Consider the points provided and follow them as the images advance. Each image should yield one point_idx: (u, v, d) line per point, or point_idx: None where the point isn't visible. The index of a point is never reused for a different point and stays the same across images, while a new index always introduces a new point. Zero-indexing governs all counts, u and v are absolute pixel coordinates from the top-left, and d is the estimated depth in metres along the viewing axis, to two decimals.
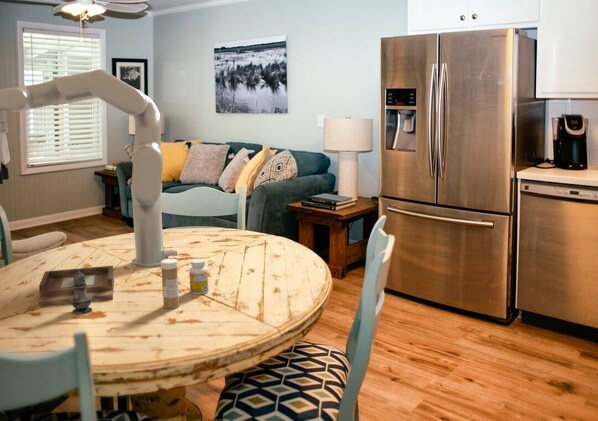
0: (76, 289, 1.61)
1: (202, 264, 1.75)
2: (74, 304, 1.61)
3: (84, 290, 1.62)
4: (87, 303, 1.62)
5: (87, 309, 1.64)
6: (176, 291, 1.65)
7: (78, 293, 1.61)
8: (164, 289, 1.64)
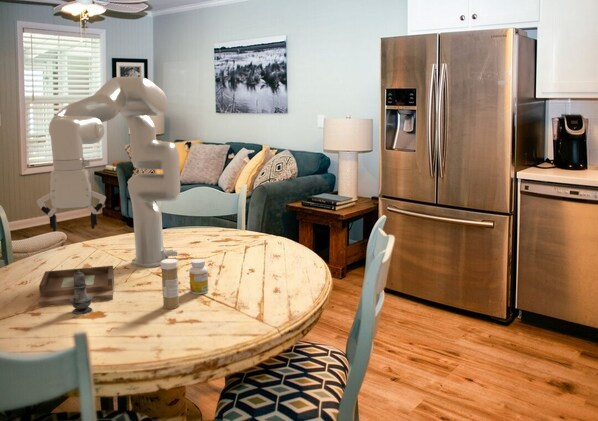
0: (76, 289, 1.61)
1: (202, 264, 1.75)
2: (74, 304, 1.61)
3: (84, 290, 1.62)
4: (87, 303, 1.62)
5: (87, 309, 1.64)
6: (176, 291, 1.65)
7: (78, 293, 1.61)
8: (164, 289, 1.64)
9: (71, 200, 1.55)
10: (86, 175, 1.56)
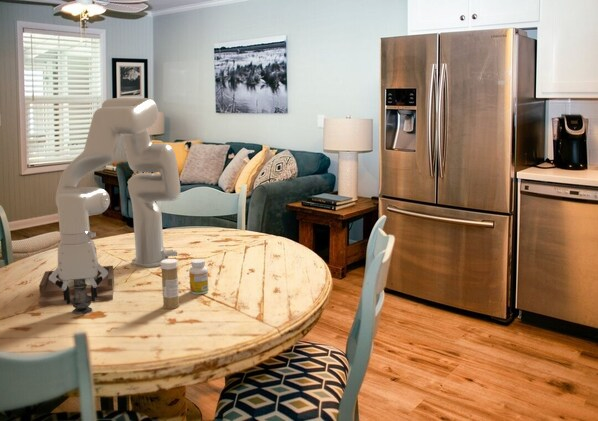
0: (76, 289, 1.61)
1: (202, 264, 1.75)
2: (74, 304, 1.61)
3: (84, 290, 1.62)
4: (87, 303, 1.62)
5: (87, 309, 1.64)
6: (176, 291, 1.65)
7: (78, 293, 1.61)
8: (164, 289, 1.64)
9: (78, 271, 1.59)
10: (92, 247, 1.60)
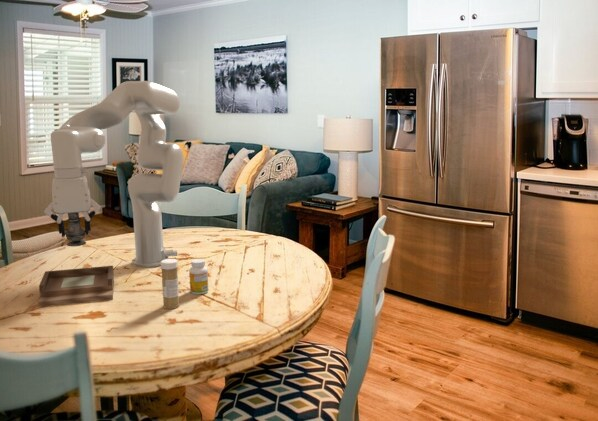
0: (70, 222, 1.70)
1: (202, 264, 1.75)
2: (69, 236, 1.70)
3: (78, 223, 1.71)
4: (81, 236, 1.71)
5: (81, 242, 1.73)
6: (176, 291, 1.65)
7: (73, 226, 1.71)
8: (164, 289, 1.64)
9: (71, 205, 1.68)
10: (85, 182, 1.69)
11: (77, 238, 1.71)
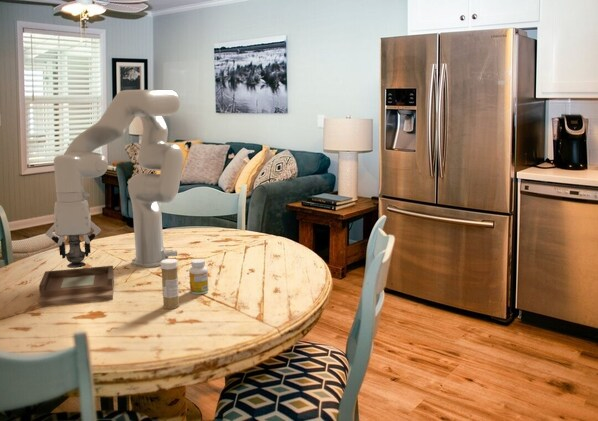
0: (71, 244, 1.75)
1: (202, 264, 1.75)
2: (69, 258, 1.75)
3: (78, 245, 1.76)
4: (81, 258, 1.76)
5: (81, 263, 1.78)
6: (176, 291, 1.65)
7: (73, 248, 1.76)
8: (164, 289, 1.64)
9: (72, 228, 1.74)
10: (86, 205, 1.74)
11: (77, 260, 1.76)
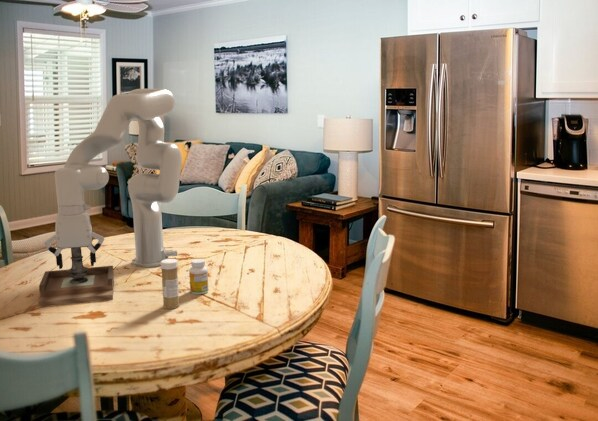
0: (73, 260, 1.77)
1: (202, 264, 1.75)
2: (71, 274, 1.77)
3: (81, 261, 1.78)
4: (83, 274, 1.78)
5: (83, 279, 1.79)
6: (176, 291, 1.65)
7: (75, 264, 1.77)
8: (164, 289, 1.64)
9: (74, 240, 1.74)
10: (87, 218, 1.75)
11: (79, 276, 1.77)
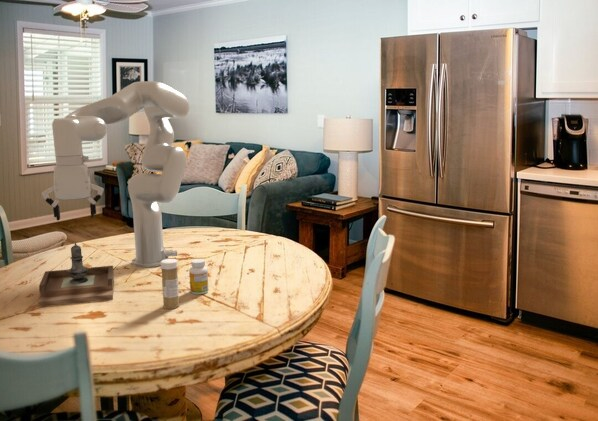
0: (73, 260, 1.77)
1: (202, 264, 1.75)
2: (71, 274, 1.77)
3: (80, 261, 1.78)
4: (83, 274, 1.78)
5: (83, 279, 1.79)
6: (176, 291, 1.65)
7: (75, 264, 1.77)
8: (164, 289, 1.64)
9: (72, 192, 1.73)
10: (85, 169, 1.73)
11: (79, 276, 1.77)
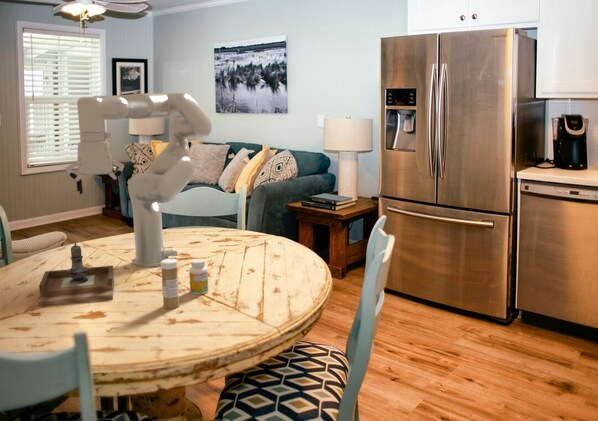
0: (73, 260, 1.77)
1: (202, 264, 1.75)
2: (71, 274, 1.77)
3: (80, 261, 1.78)
4: (83, 274, 1.78)
5: (83, 279, 1.79)
6: (176, 291, 1.65)
7: (75, 264, 1.77)
8: (164, 289, 1.64)
9: (95, 167, 1.82)
10: (108, 146, 1.83)
11: (79, 276, 1.77)
